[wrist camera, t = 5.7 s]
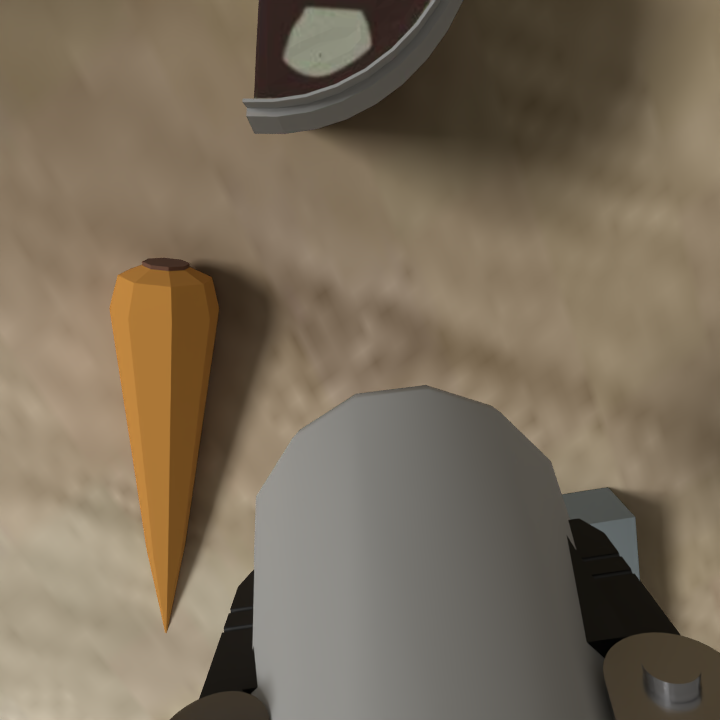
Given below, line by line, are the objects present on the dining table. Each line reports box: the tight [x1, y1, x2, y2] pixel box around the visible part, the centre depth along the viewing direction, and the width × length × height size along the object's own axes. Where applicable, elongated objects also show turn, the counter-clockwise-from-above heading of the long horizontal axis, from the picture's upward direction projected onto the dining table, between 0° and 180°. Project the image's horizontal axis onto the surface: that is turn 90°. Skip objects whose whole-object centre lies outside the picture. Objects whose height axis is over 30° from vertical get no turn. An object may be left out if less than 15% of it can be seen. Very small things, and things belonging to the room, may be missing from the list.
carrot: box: [110, 258, 219, 633], centre depth 28 cm, size 20×4×4 cm, turn 174°
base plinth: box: [562, 487, 640, 580], centre depth 30 cm, size 14×14×3 cm
